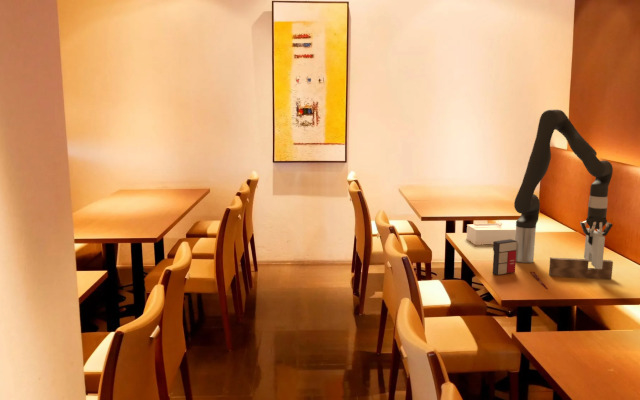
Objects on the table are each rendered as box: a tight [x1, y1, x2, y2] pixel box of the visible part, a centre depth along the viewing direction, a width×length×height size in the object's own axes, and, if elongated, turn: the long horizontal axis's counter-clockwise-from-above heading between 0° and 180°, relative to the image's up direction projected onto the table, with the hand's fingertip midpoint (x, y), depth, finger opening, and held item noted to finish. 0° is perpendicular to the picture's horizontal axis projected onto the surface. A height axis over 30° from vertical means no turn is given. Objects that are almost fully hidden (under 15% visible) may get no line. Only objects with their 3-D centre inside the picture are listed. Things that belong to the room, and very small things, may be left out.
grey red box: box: [492, 239, 517, 276], centre depth 268 cm, size 11×4×15 cm, turn 117°
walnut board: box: [548, 257, 614, 280], centre depth 264 cm, size 26×2×8 cm, turn 81°
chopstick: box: [529, 271, 549, 290], centre depth 259 cm, size 2×24×1 cm, turn 175°
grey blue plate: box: [583, 227, 606, 269], centre depth 262 cm, size 18×2×14 cm, turn 171°
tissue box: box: [466, 220, 516, 246], centre depth 330 cm, size 14×25×11 cm, turn 95°
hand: (594, 244), depth 262 cm, fingers closed on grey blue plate, 2 cm apart
